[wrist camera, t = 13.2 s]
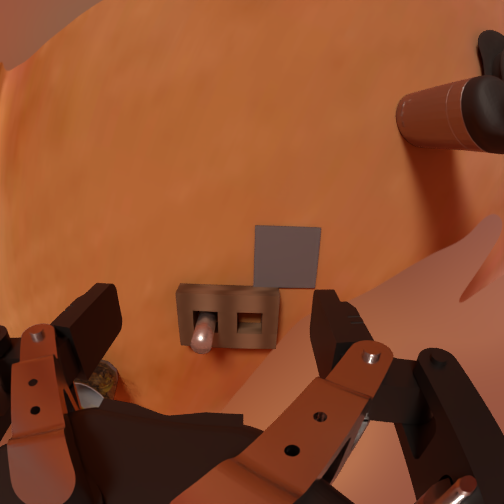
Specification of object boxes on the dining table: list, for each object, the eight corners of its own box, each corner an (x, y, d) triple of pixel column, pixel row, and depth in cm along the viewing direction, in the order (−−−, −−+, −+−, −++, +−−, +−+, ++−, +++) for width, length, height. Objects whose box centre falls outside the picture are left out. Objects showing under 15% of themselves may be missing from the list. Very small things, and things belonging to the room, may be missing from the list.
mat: (320, 227, 46) (321, 228, 46) (314, 286, 49) (314, 287, 49) (255, 225, 46) (255, 226, 46) (253, 285, 49) (253, 286, 49)
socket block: (278, 286, 49) (280, 296, 46) (274, 337, 52) (275, 348, 49) (180, 283, 49) (175, 292, 46) (184, 333, 52) (180, 345, 49)
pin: (217, 303, 50) (210, 337, 41) (218, 319, 51) (211, 354, 42) (200, 303, 50) (189, 336, 41) (200, 318, 51) (191, 353, 42)
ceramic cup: (108, 392, 58) (93, 422, 49) (77, 362, 56) (58, 390, 46) (143, 373, 56) (129, 407, 46) (108, 339, 53) (88, 370, 44)
